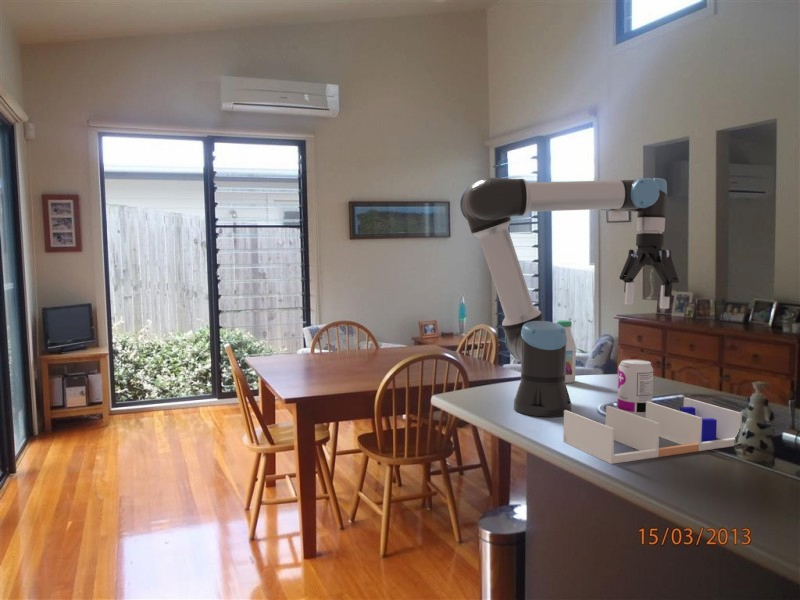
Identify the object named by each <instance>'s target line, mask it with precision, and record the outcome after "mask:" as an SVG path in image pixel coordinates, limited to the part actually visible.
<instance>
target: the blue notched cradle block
mask: <svg viewBox="0 0 800 600" xmlns="http://www.w3.org/2000/svg"><path fill="white" fill-rule="evenodd" d="M679 411H681V412H684V413H688V414H691V415H694V416H696V414H695V408H694V407H684V406H679ZM716 429H717V420H716V419H714V418H702V434H701V442H706V441H713V440H717V438H716Z"/></svg>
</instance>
